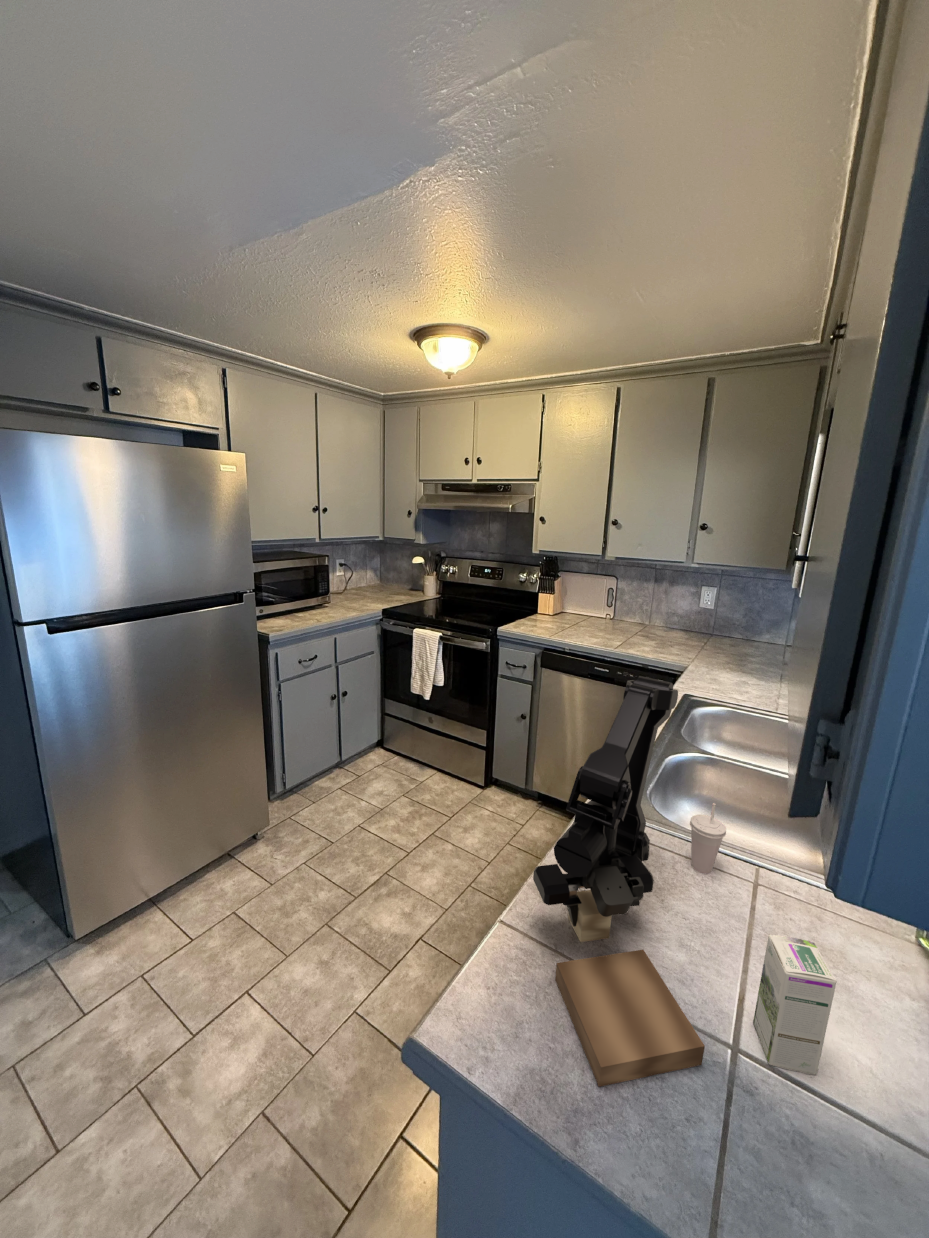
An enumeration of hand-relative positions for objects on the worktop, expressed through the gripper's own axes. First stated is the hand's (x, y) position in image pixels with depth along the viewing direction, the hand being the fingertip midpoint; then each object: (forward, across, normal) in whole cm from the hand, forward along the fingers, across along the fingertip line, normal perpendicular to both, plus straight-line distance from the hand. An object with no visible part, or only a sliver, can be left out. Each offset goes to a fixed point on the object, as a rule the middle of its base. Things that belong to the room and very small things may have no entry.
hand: (588, 922), depth 81 cm
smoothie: (+1, +29, +10) cm, 31 cm away
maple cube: (+1, 0, 0) cm, 1 cm away
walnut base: (+1, -2, -15) cm, 15 cm away
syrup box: (+1, +17, -22) cm, 28 cm away
